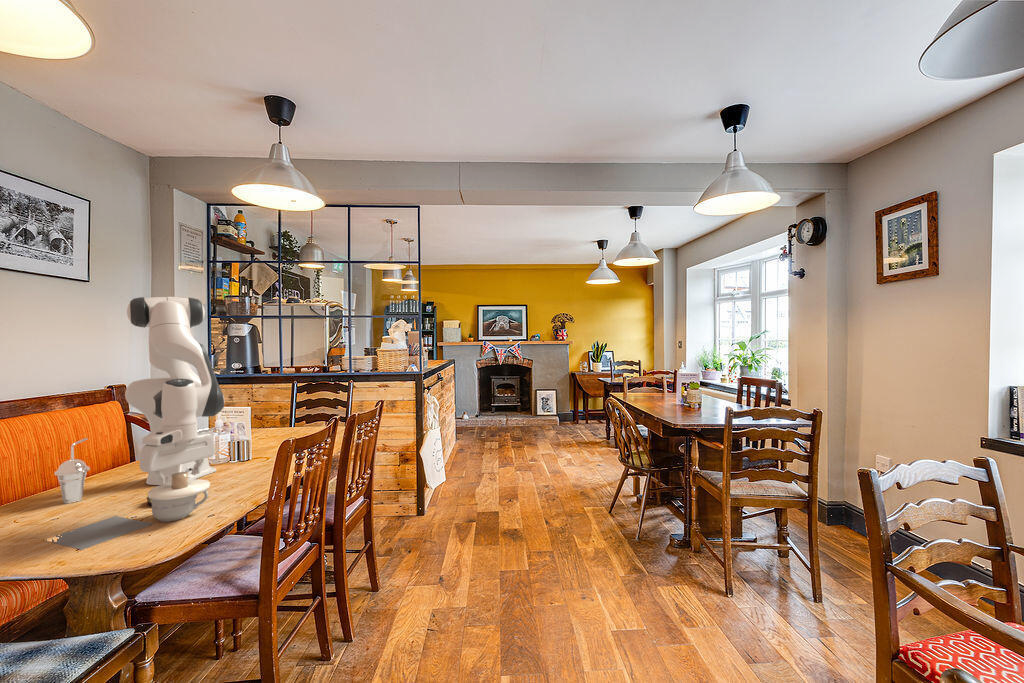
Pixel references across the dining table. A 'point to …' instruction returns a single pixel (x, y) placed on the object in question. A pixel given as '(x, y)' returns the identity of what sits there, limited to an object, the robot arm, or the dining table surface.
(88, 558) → the dining table surface
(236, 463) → the dining table surface
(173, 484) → the lid
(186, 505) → the teacup
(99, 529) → the mat
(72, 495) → the cup with straw
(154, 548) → the dining table surface
